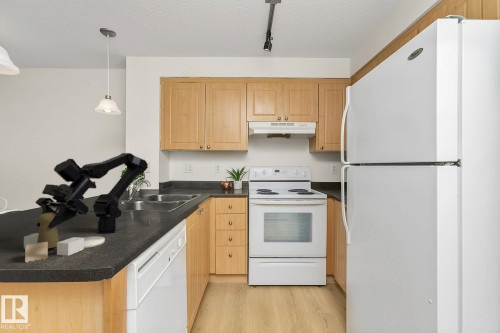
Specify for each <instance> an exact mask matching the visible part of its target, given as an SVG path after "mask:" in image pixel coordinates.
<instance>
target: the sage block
mask: <svg viewBox="0 0 500 333" xmlns="http://www.w3.org/2000/svg"><path fill="white" fill-rule="evenodd" d="M38 235H39V232H38V233H37V232H36V233H34V232H33V233H30V234H28V235H26V236H23V249H26V245H29V244H35V243H37V241H38Z"/></svg>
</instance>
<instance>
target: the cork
mask: <svg viewBox="0 0 500 333" xmlns="http://www.w3.org/2000/svg"><path fill="white" fill-rule="evenodd" d="M56 215H57V214H56V213H44V214H42V213H41V214H39V216H38V217H37V223H38V222H39V223H40V227H39V230H38V233H39V235H38V241H37V243H42V242H48V249H51V248H57V243H58V242H60V237H59V233H58V232H59V231H58V227H57V226H58V225H57V226H55V227H53V228H51V229H50V228H49V227H48V226H49V225H50V223H51V222H52V220H53V219H54V218H55V216H56Z"/></svg>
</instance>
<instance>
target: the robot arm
mask: <svg viewBox="0 0 500 333" xmlns="http://www.w3.org/2000/svg"><path fill="white" fill-rule="evenodd" d="M123 165H124V166H126V171H125V173H124V174H123V175H122V176H121V177H120V178H119V179H118V181H117V182H116V183H115V185H114V186H113V187H112V189H111V190H110V191H109V192H108V193H107V194H106V193H105V194H104V193H103V194H102V193H101V194H100V195H99V196H98V197H97V199H95V200H94V202H93V205H92V208H93V212H94V214H95V217H96V218H99V219H98V221H97V234H112V233H116V232H117V231H119V230H120V228H119V227H118V223H119V222H118V221H119V220H118V218H121V216H122V214H123V213H122V212H123V211H122V210H121V209H120V208H119V205H120V204H119V203H120V199H121V197H122V196H123V195H124V193H125V192H126V191H127V189H128V188H129V187H130V186H131V184H132V183H133V181H135V179H136V177H138V176H140V175H142V174H143V173H144V172H146V170H147V169H148V162H147V161H146V160H145V159H144V158H143V159H142V158H141V157H139V156H136V155H134V154H132V153H130V152H122V153H120V154H119V155H116V156H114V157H111V158H108V159H106V160H103V161H100V162H92V163H86V164H84V165H82V166H81V167H80V166H79V165H78V163H77V162H76V161H75V159H73V158H67V159H66V160H64V161H61V162H59V163H58V164H56V166H54V168H53V171H54V172H55V173H56V174H57V175H58V176H59V177H60V178H62V180H64V181H65V182H66V183H70V182H71V183H70V184H69V185H68V184H66V183H61V184H59V185H57V184H47V183H46V184H45V186H44V188H43V190H42V191H41V193H42V194H43V195H47V196H50V197H52V198H50V197H39V198H38V199H37V200H35V204H36V205H37V206H39V207H40V208H42V211H41V214H44V213H56V214H57V215H56V216H55V218H54V219H53V220H52V222H51V223H50V225H49V226H48V227H49V228H50V229H51V228H53V227H55V226H58V225H61V224H62V223H65V222H67V221H68V220H69V221H70V219H72V218H75V217H78V215H79V216H86V215H87V214H88V212H89V206H88V205H86V204H85V203H84V201H83V200H84V199H85V196H84V195H85V194H86V193H87V191H88V190H89V189H97V185H96V181H92V180H93V179H95V180H99V179H102V178H103V177H105V176H106V175H108V173H109V171H111V170H113V169H115V168H118V167H120V166H123ZM36 227H38V228H40V223H39V222H38V221H37V223H36Z"/></svg>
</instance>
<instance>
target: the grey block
mask: <svg viewBox="0 0 500 333" xmlns="http://www.w3.org/2000/svg"><path fill="white" fill-rule="evenodd" d="M83 250H85V248H84V238H83V237H76V236H74V237H73V236H72V237H70V238H67V239H64V240H61V241H59V242H58V243H57V246H56V255H57V256H71V255H73V254H75V253H78V252H80V251H83Z"/></svg>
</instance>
